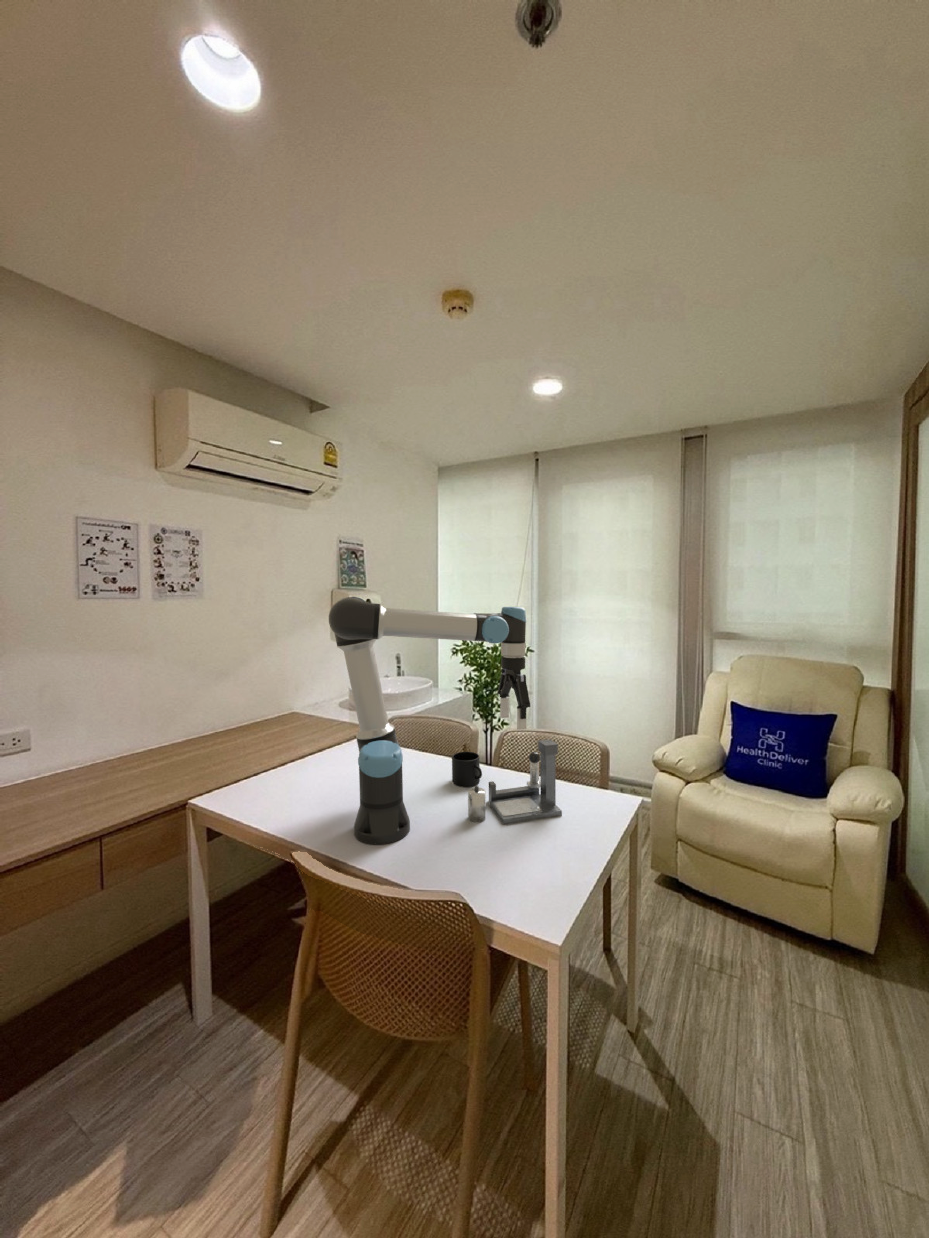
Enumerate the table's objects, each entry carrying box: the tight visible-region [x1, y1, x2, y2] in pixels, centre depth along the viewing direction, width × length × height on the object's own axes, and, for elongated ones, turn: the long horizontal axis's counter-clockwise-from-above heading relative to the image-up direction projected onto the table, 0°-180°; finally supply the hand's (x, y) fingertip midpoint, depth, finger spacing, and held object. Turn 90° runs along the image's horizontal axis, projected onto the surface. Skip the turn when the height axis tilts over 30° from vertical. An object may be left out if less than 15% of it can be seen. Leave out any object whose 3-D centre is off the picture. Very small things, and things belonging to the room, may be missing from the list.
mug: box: [451, 751, 483, 788], centre depth 164 cm, size 9×12×9 cm
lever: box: [526, 751, 541, 789], centre depth 153 cm, size 4×4×11 cm
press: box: [488, 738, 563, 826], centre depth 144 cm, size 18×16×20 cm
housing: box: [467, 784, 487, 823], centre depth 139 cm, size 5×5×10 cm
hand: (512, 723), depth 151 cm, fingers open, 13 cm apart
